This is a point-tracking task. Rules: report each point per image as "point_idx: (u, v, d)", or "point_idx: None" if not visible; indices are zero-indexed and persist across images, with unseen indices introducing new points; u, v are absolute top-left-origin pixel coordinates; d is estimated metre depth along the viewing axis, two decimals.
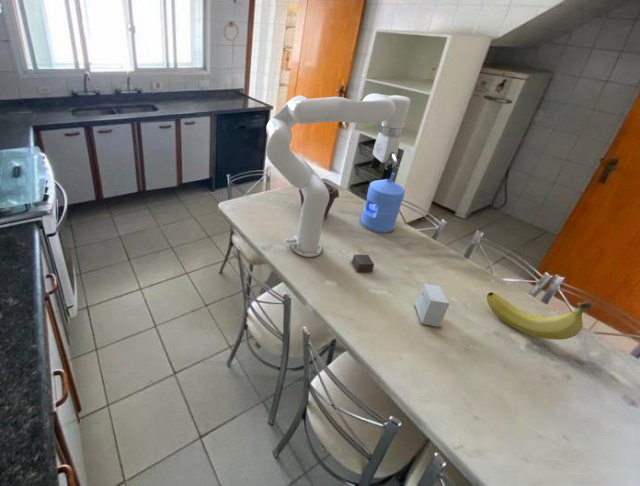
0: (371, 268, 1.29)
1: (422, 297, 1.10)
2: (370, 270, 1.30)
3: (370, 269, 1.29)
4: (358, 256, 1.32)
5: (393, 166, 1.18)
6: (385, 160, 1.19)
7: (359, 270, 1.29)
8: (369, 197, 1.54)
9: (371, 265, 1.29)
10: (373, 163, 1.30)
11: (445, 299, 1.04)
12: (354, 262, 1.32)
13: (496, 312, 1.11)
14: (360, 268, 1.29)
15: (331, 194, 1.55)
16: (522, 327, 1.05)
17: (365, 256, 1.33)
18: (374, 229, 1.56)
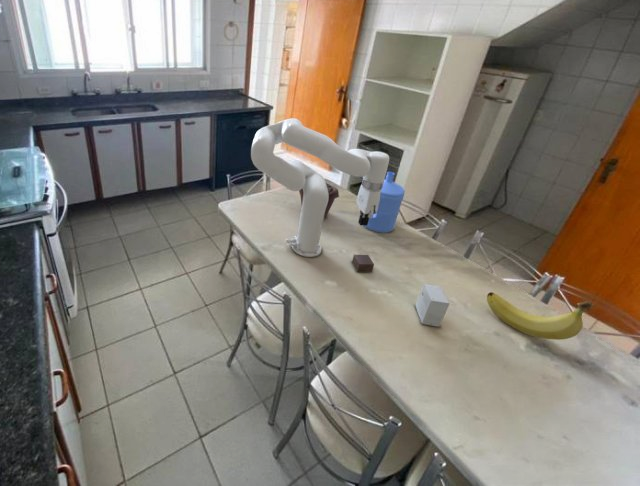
0: (371, 268, 1.29)
1: (422, 297, 1.10)
2: (370, 270, 1.30)
3: (370, 269, 1.29)
4: (358, 256, 1.32)
5: None
6: (367, 212, 1.25)
7: (359, 270, 1.29)
8: None
9: (371, 265, 1.29)
10: None
11: (445, 299, 1.04)
12: (354, 262, 1.32)
13: (496, 312, 1.11)
14: (360, 268, 1.29)
15: (331, 194, 1.55)
16: (522, 327, 1.05)
17: (365, 256, 1.33)
18: (374, 229, 1.56)
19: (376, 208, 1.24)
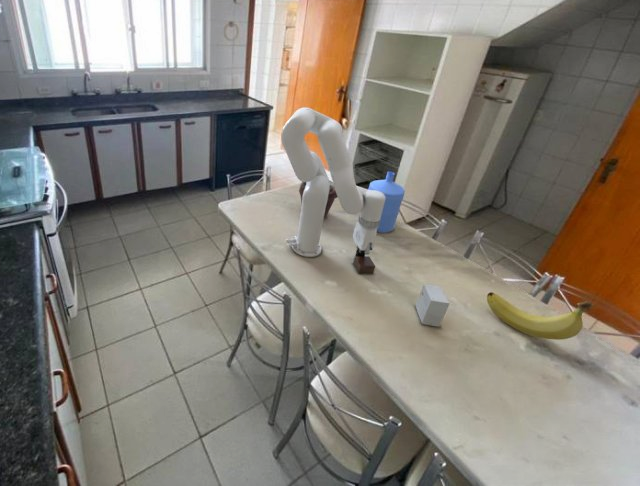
0: (372, 270, 1.28)
1: (422, 297, 1.10)
2: (371, 272, 1.29)
3: (371, 271, 1.29)
4: (359, 258, 1.31)
5: None
6: (363, 249, 1.27)
7: (360, 272, 1.29)
8: None
9: (372, 267, 1.28)
10: None
11: (445, 299, 1.04)
12: (356, 264, 1.31)
13: (496, 312, 1.11)
14: (362, 270, 1.28)
15: (331, 194, 1.55)
16: (522, 327, 1.05)
17: (367, 258, 1.32)
18: None
19: (372, 245, 1.27)
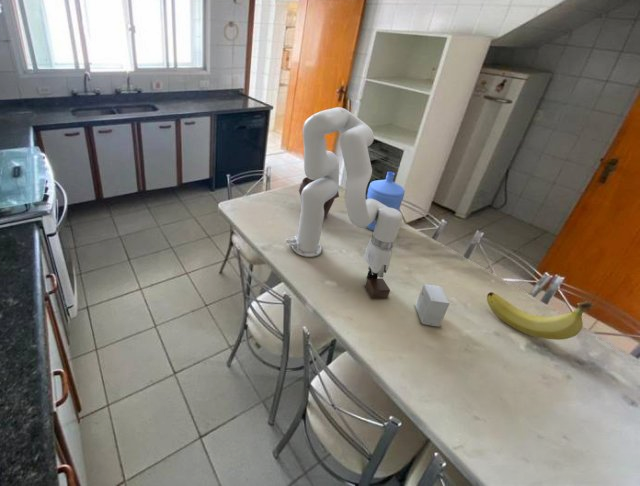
0: (387, 294, 1.17)
1: (422, 297, 1.10)
2: (385, 296, 1.17)
3: (386, 295, 1.17)
4: (372, 280, 1.20)
5: None
6: (377, 271, 1.16)
7: (373, 296, 1.17)
8: (369, 197, 1.54)
9: (387, 291, 1.16)
10: None
11: (445, 299, 1.04)
12: (368, 287, 1.20)
13: (496, 312, 1.11)
14: (375, 294, 1.17)
15: None
16: (522, 327, 1.05)
17: (380, 280, 1.20)
18: None
19: (387, 267, 1.15)
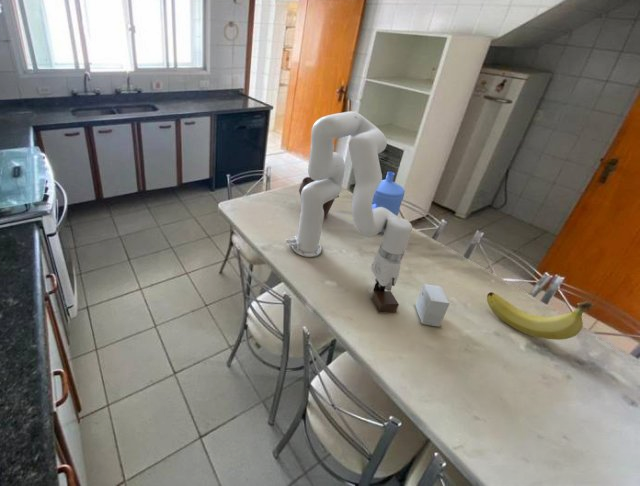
0: (395, 308, 1.11)
1: (422, 297, 1.10)
2: (394, 310, 1.12)
3: (394, 309, 1.11)
4: (379, 293, 1.14)
5: None
6: (385, 284, 1.10)
7: (381, 310, 1.11)
8: None
9: (395, 305, 1.10)
10: None
11: (445, 299, 1.04)
12: (375, 300, 1.14)
13: (496, 312, 1.11)
14: (383, 308, 1.11)
15: None
16: (522, 327, 1.05)
17: (388, 293, 1.14)
18: None
19: (395, 280, 1.10)
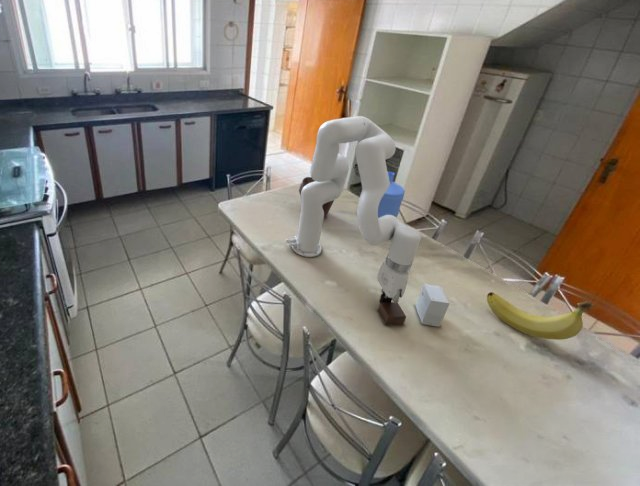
0: (402, 321, 1.06)
1: (422, 297, 1.10)
2: (401, 323, 1.07)
3: (401, 322, 1.07)
4: (386, 305, 1.09)
5: None
6: (392, 296, 1.06)
7: (388, 323, 1.07)
8: None
9: (403, 317, 1.06)
10: None
11: (445, 299, 1.04)
12: (381, 312, 1.09)
13: (496, 312, 1.11)
14: (390, 321, 1.06)
15: None
16: (522, 327, 1.05)
17: (395, 305, 1.10)
18: None
19: (403, 292, 1.05)
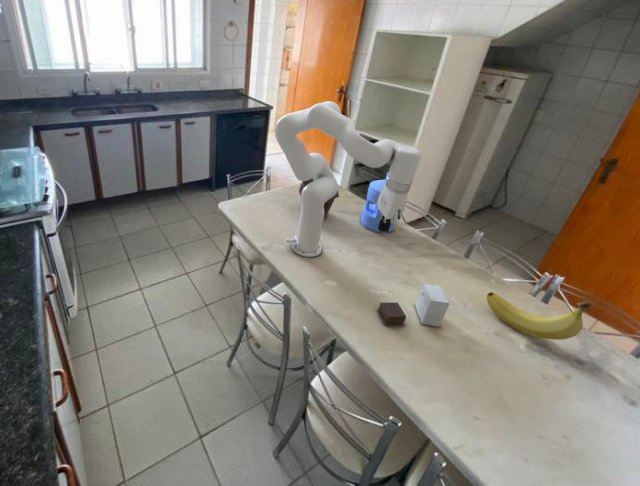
0: (402, 321, 1.06)
1: (422, 297, 1.10)
2: (401, 323, 1.07)
3: (401, 322, 1.07)
4: (386, 305, 1.09)
5: None
6: (390, 217, 1.07)
7: (388, 323, 1.07)
8: (369, 197, 1.54)
9: (403, 317, 1.06)
10: None
11: (445, 299, 1.04)
12: (381, 312, 1.09)
13: (496, 312, 1.11)
14: (390, 321, 1.06)
15: None
16: (522, 327, 1.05)
17: (395, 305, 1.10)
18: (374, 229, 1.56)
19: (401, 213, 1.06)
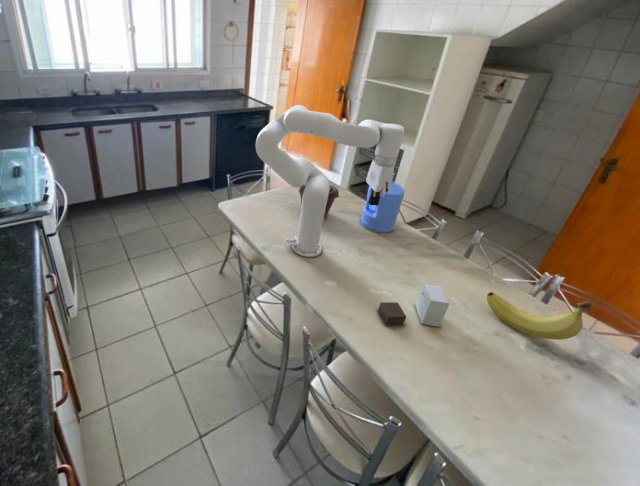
0: (402, 321, 1.06)
1: (422, 297, 1.10)
2: (401, 323, 1.07)
3: (401, 322, 1.07)
4: (386, 305, 1.09)
5: None
6: (379, 190, 1.16)
7: (388, 323, 1.07)
8: (369, 197, 1.54)
9: (403, 317, 1.06)
10: None
11: (445, 299, 1.04)
12: (381, 312, 1.09)
13: (496, 312, 1.11)
14: (390, 321, 1.06)
15: (331, 194, 1.55)
16: (522, 327, 1.05)
17: (395, 305, 1.10)
18: (374, 229, 1.56)
19: (389, 185, 1.15)
